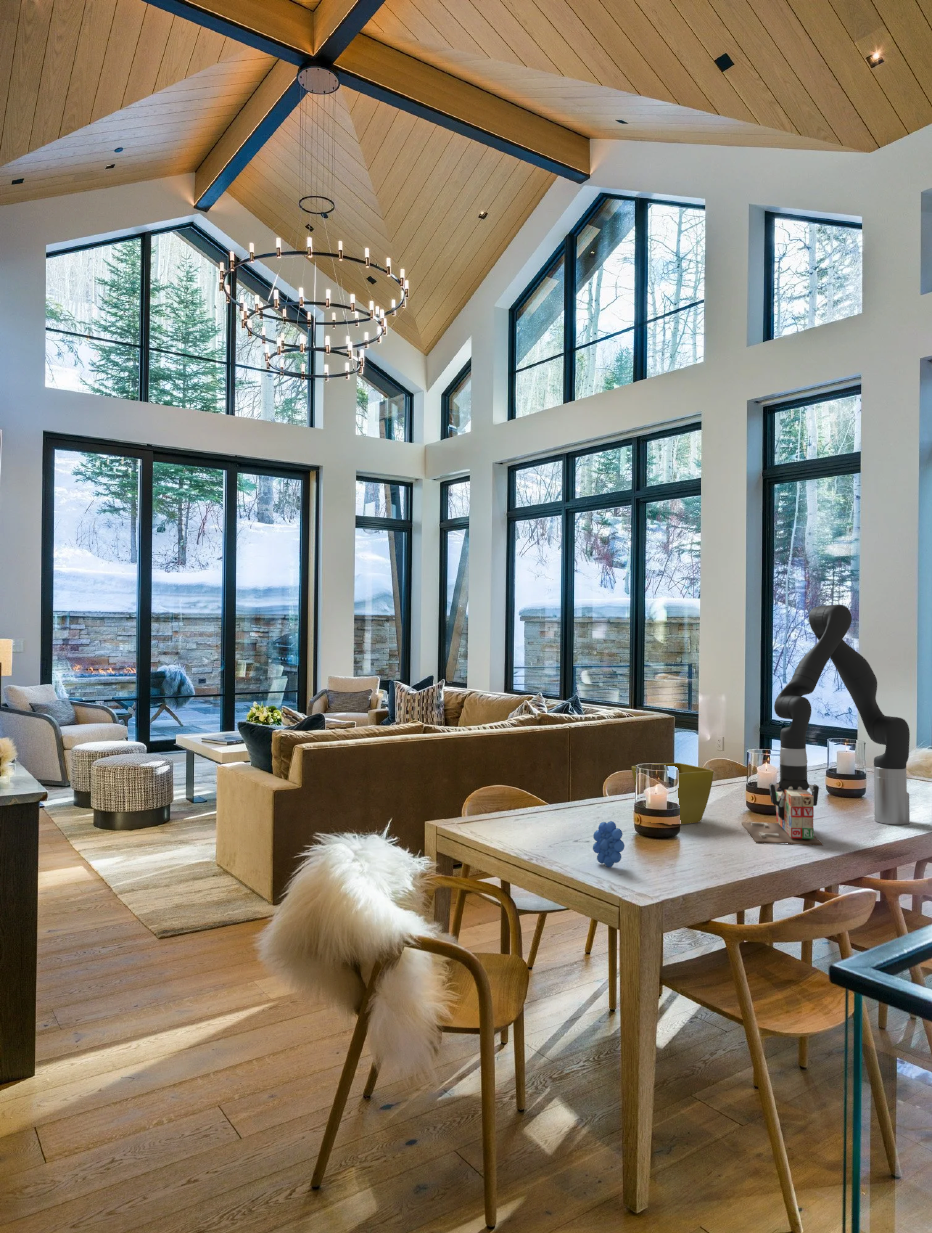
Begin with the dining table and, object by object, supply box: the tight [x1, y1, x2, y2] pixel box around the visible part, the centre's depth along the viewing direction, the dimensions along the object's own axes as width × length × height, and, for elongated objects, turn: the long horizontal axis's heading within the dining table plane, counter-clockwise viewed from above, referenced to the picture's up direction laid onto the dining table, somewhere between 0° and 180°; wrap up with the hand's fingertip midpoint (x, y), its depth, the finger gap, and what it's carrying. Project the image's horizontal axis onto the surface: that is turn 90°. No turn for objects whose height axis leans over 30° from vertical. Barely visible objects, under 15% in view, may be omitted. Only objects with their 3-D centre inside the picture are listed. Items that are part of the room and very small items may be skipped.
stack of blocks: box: [775, 789, 815, 839], centre depth 246 cm, size 21×6×12 cm, turn 171°
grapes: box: [592, 820, 625, 868], centre depth 213 cm, size 12×7×12 cm, turn 29°
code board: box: [741, 821, 824, 846], centre depth 246 cm, size 18×24×1 cm
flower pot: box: [631, 762, 714, 825], centre depth 265 cm, size 19×19×17 cm
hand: (794, 819), depth 246 cm, fingers closed on stack of blocks, 6 cm apart
